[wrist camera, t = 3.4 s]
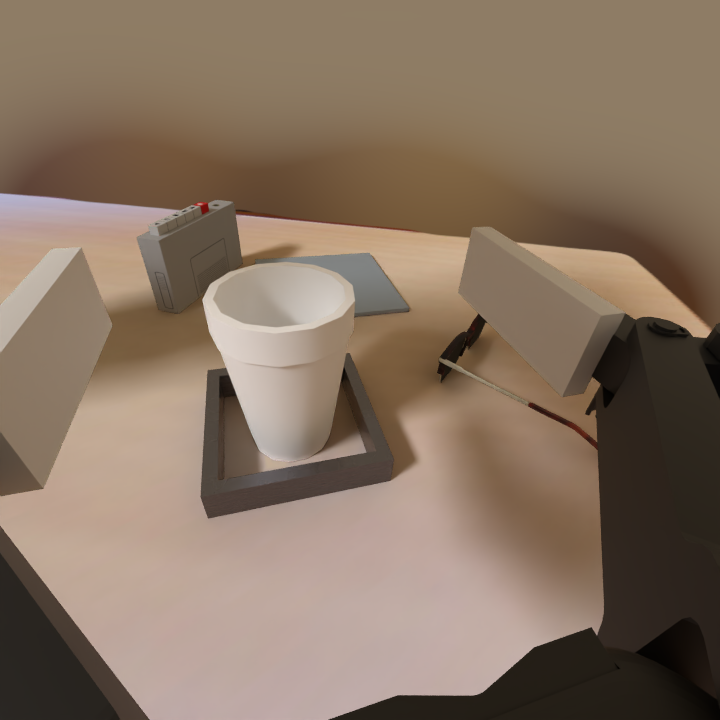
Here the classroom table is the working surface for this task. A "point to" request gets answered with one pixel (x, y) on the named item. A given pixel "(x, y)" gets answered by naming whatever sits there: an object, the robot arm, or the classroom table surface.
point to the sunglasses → (449, 362)
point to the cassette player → (190, 252)
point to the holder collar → (297, 479)
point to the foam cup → (283, 350)
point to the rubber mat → (358, 281)
